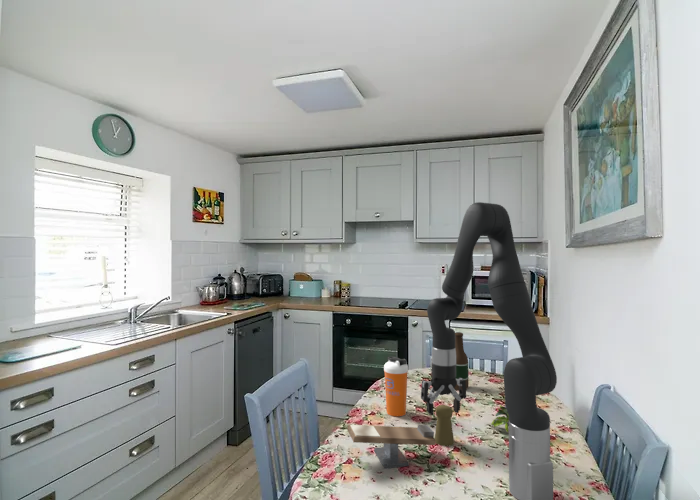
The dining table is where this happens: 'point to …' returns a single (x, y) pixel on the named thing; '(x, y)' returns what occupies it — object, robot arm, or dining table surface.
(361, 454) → the dining table surface
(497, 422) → the passion flower
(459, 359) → the beer bottle
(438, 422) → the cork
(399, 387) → the shaker bottle
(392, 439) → the seesaw board
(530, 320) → the robot arm
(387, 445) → the pivot stand
